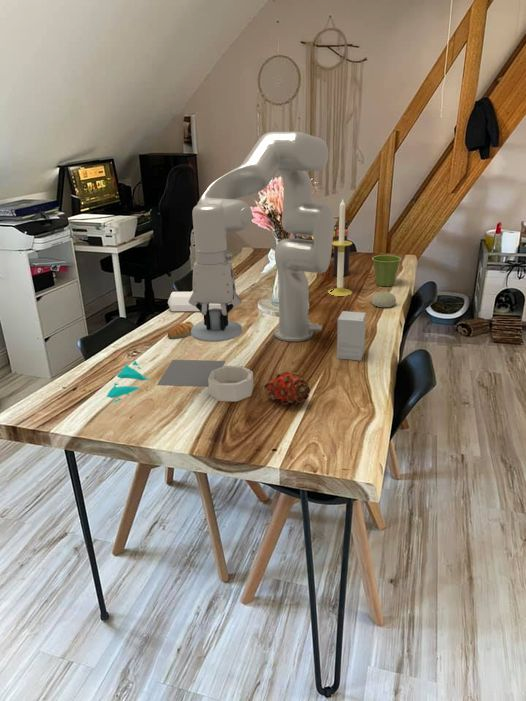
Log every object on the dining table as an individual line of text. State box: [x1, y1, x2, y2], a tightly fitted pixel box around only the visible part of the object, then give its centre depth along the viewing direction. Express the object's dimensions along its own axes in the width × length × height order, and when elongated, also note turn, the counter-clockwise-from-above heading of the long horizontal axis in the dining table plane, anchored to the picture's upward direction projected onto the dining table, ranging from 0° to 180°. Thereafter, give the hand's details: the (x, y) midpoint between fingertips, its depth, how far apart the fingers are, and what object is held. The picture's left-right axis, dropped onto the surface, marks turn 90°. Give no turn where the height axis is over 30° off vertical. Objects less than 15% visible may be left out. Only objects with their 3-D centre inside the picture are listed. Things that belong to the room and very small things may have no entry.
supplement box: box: [336, 310, 367, 361], centre depth 153 cm, size 7×7×13 cm
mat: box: [156, 359, 226, 388], centre depth 147 cm, size 16×16×1 cm
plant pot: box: [371, 254, 402, 287], centre depth 217 cm, size 12×12×11 cm
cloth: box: [106, 360, 150, 403], centre depth 143 cm, size 26×14×2 cm, turn 168°
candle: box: [327, 198, 353, 297], centre depth 202 cm, size 10×10×38 cm
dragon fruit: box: [263, 371, 311, 406], centre depth 130 cm, size 8×8×12 cm
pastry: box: [167, 321, 195, 339], centre depth 174 cm, size 9×7×4 cm
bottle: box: [332, 229, 351, 277], centre depth 229 cm, size 7×7×20 cm
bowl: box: [208, 365, 254, 402], centre depth 136 cm, size 11×11×5 cm
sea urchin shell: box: [370, 290, 397, 308], centre depth 195 cm, size 9×8×8 cm
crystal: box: [167, 291, 230, 312], centre depth 196 cm, size 7×7×24 cm
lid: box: [190, 308, 243, 343], centre depth 132 cm, size 13×13×6 cm
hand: (216, 327), depth 132 cm, fingers closed on lid, 3 cm apart
